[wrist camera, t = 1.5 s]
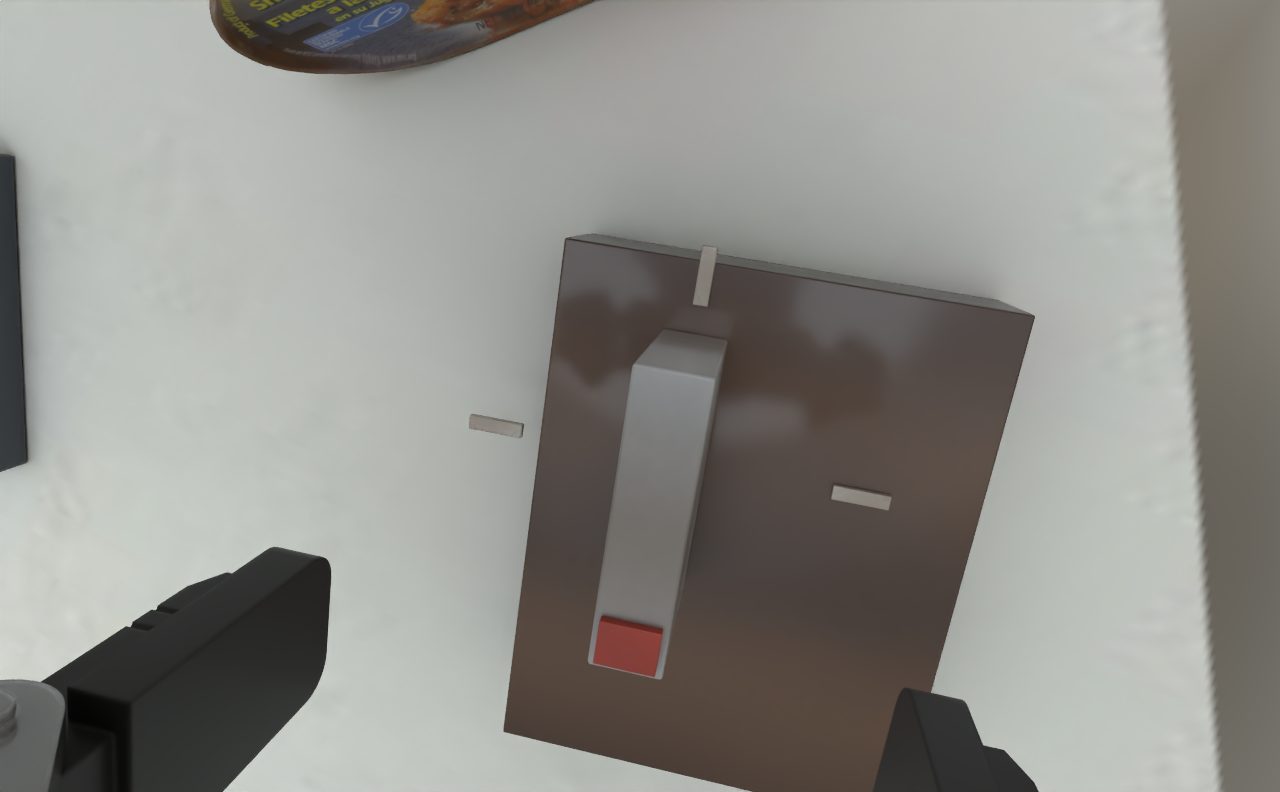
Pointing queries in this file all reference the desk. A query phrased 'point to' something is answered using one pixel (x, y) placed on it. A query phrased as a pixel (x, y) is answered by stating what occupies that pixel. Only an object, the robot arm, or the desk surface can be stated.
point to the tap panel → (763, 511)
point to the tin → (371, 30)
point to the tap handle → (655, 500)
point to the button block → (10, 328)
